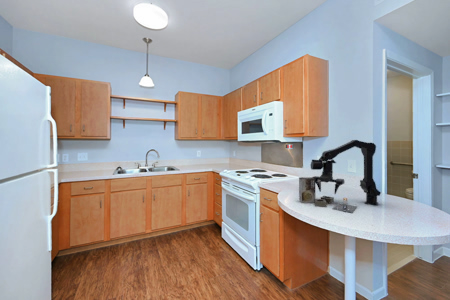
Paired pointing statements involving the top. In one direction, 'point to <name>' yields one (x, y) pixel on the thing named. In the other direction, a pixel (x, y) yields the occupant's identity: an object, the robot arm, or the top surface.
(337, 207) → the keeper
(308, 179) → the coffee box
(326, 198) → the link
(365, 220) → the top surface
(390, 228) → the top surface
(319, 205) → the link
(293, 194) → the top surface
